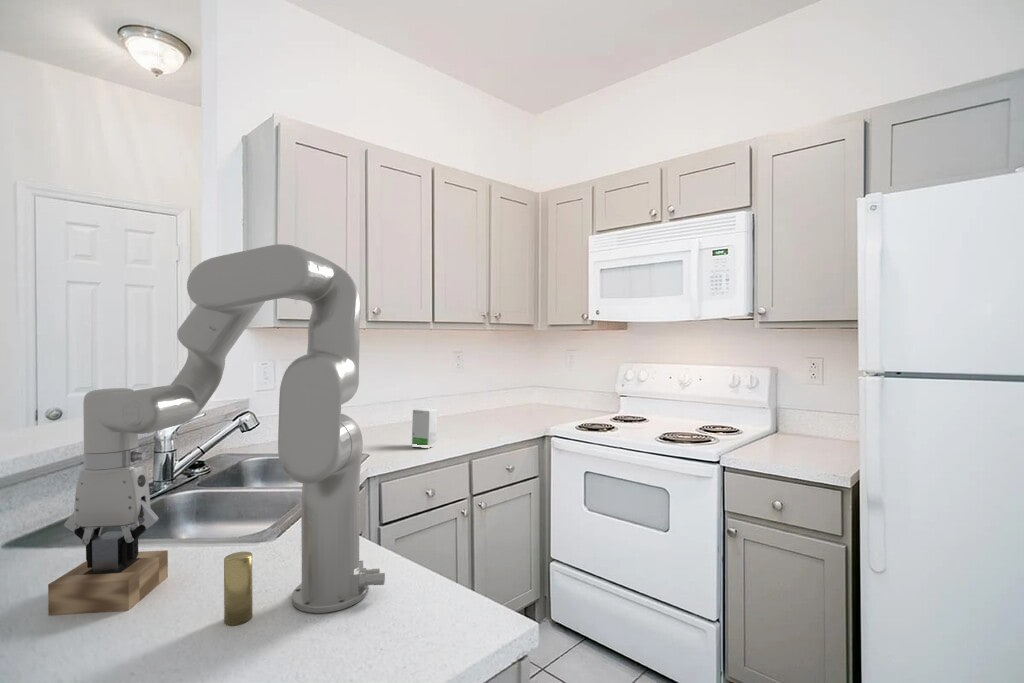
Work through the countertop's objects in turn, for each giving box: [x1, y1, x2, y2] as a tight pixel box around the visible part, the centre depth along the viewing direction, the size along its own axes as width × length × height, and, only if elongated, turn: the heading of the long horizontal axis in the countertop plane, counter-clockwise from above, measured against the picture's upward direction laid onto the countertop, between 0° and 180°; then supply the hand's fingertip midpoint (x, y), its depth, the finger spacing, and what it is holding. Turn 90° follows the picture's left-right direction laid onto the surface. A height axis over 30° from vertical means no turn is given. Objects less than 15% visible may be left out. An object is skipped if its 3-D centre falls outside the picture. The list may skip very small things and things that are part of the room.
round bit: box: [223, 551, 254, 627], centre depth 82 cm, size 4×4×10 cm
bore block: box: [47, 550, 169, 616], centre depth 90 cm, size 12×12×5 cm
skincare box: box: [411, 407, 438, 445], centre depth 211 cm, size 8×7×16 cm
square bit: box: [92, 530, 132, 574], centre depth 90 cm, size 4×4×10 cm
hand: (112, 562), depth 90 cm, fingers open, 4 cm apart
